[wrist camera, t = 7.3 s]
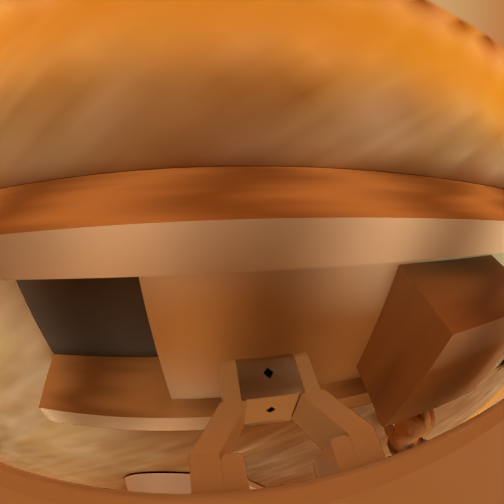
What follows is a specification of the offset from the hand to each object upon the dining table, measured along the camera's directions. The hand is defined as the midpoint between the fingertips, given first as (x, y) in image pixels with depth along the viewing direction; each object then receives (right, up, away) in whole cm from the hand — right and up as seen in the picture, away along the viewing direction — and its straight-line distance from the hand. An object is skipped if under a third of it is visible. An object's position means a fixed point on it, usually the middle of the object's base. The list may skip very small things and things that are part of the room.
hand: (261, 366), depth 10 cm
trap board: (+6, +3, +4) cm, 8 cm away
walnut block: (+8, +1, +2) cm, 8 cm away
